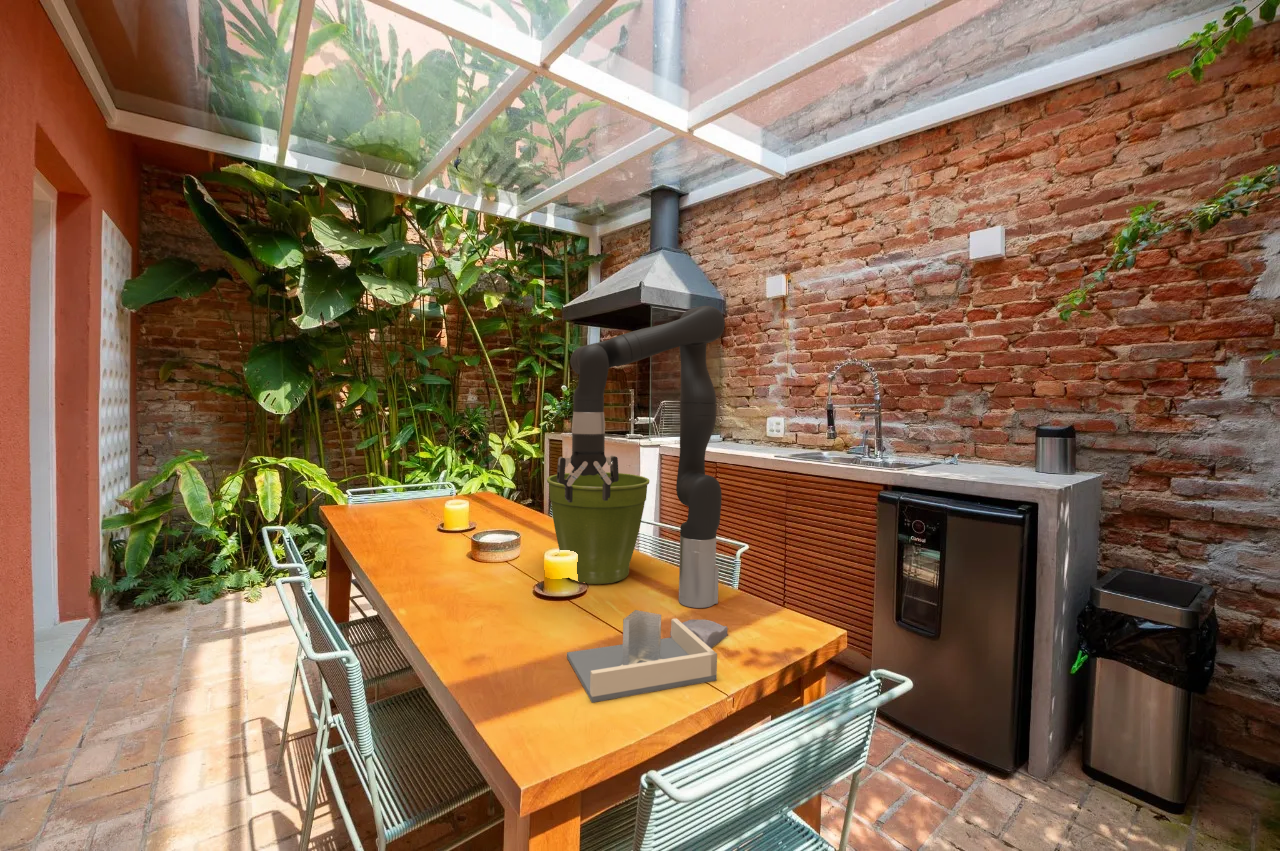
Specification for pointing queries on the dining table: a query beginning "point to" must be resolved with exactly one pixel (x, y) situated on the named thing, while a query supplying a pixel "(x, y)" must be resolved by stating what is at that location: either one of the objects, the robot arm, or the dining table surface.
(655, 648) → the bracket
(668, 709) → the dining table surface
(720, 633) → the stone block
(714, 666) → the arena
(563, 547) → the plant pot
